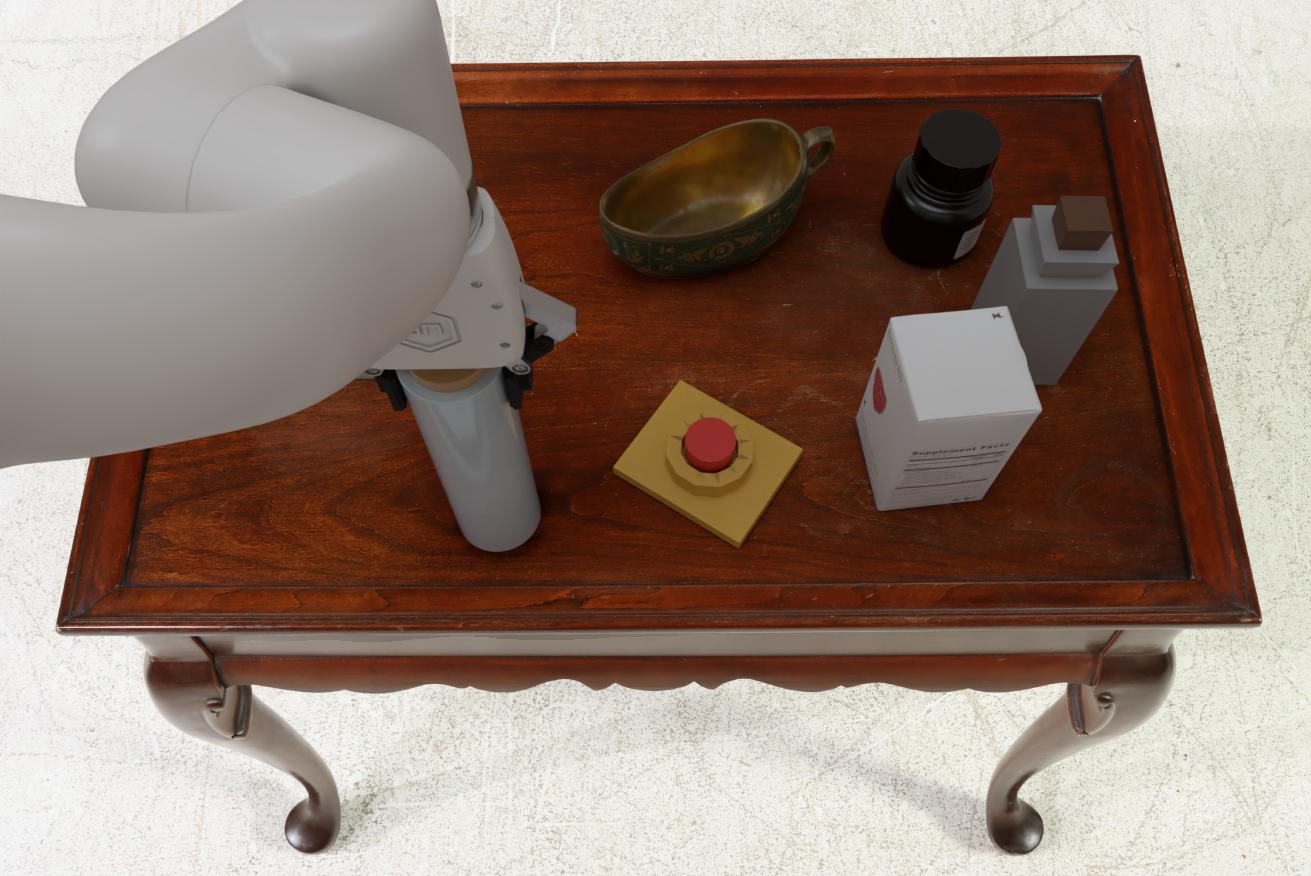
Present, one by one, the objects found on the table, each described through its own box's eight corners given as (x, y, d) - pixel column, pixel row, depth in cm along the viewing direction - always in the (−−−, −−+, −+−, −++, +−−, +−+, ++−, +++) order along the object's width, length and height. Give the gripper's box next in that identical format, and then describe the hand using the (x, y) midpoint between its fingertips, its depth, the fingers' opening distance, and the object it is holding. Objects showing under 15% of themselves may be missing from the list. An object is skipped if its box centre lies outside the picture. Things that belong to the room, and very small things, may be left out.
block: (738, 549, 81) (741, 534, 78) (613, 473, 84) (611, 456, 81) (802, 455, 85) (806, 438, 82) (679, 386, 88) (680, 367, 85)
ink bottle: (980, 275, 94) (1022, 183, 83) (883, 272, 94) (913, 180, 83) (968, 193, 98) (1007, 97, 88) (876, 191, 98) (903, 94, 88)
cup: (821, 304, 92) (839, 230, 83) (599, 290, 93) (593, 215, 84) (821, 194, 98) (838, 114, 89) (613, 181, 99) (609, 101, 90)
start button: (717, 480, 81) (718, 470, 79) (674, 455, 82) (675, 445, 80) (744, 443, 82) (745, 433, 81) (701, 419, 83) (702, 408, 82)
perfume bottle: (1055, 385, 88) (1143, 250, 72) (976, 384, 88) (1047, 249, 72) (1042, 320, 91) (1123, 178, 76) (966, 319, 91) (1031, 177, 76)
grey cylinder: (507, 567, 80) (454, 413, 59) (441, 524, 82) (367, 359, 61) (557, 503, 83) (524, 333, 62) (492, 462, 84) (438, 284, 63)
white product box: (852, 416, 87) (887, 311, 73) (956, 406, 87) (1010, 300, 74) (874, 514, 82) (916, 422, 69) (984, 503, 83) (1046, 409, 70)
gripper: (205, 263, 48) (315, 444, 64) (577, 259, 48) (596, 440, 64) (234, 144, 52) (332, 343, 67) (580, 140, 52) (597, 340, 67)
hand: (460, 389), depth 65 cm, fingers closed on grey cylinder, 6 cm apart
